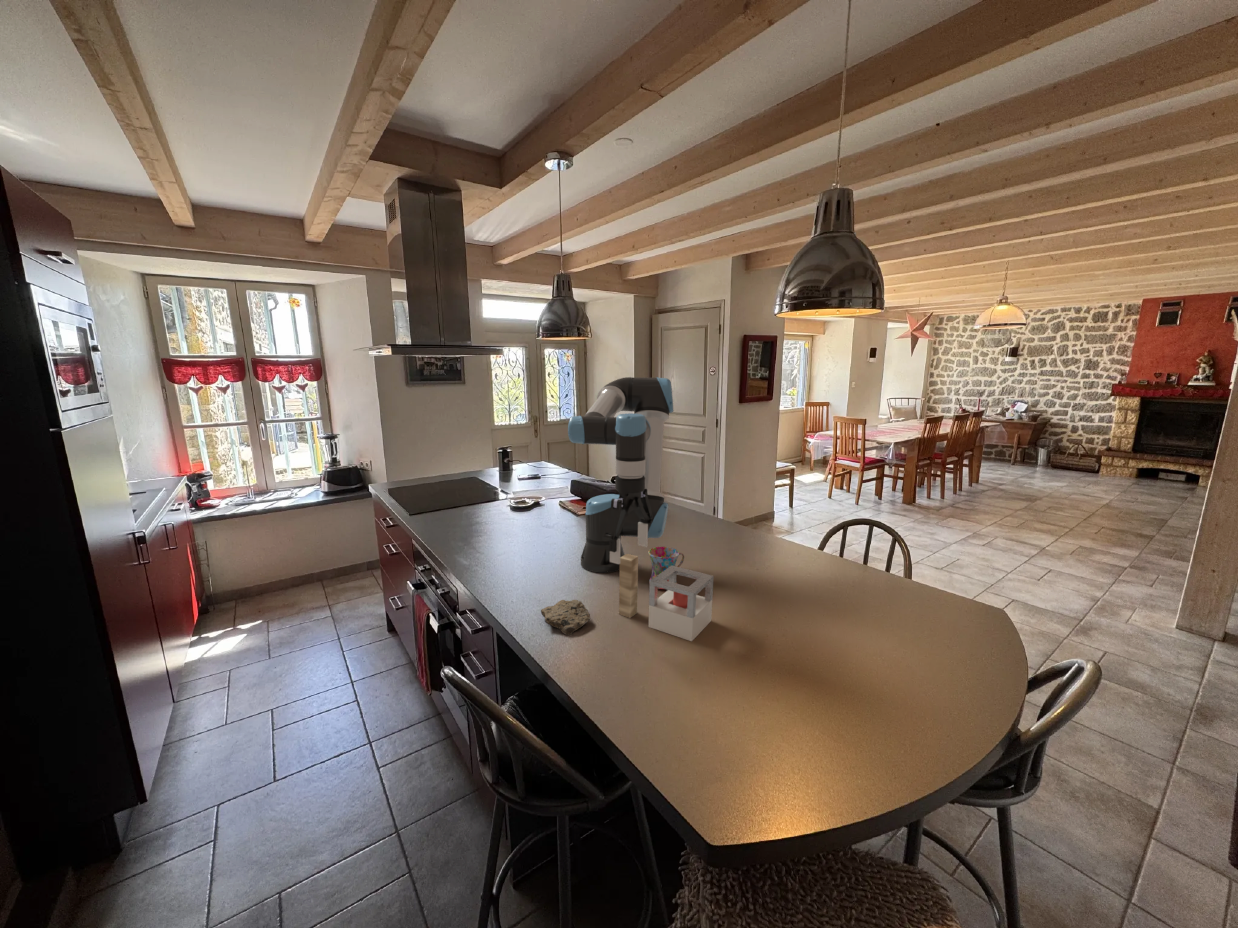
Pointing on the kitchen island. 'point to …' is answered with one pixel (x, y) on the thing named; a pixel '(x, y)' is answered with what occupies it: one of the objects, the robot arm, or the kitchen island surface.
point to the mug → (663, 560)
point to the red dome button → (680, 600)
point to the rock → (566, 615)
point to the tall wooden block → (628, 585)
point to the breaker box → (679, 617)
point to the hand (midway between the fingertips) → (629, 553)
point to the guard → (682, 586)
